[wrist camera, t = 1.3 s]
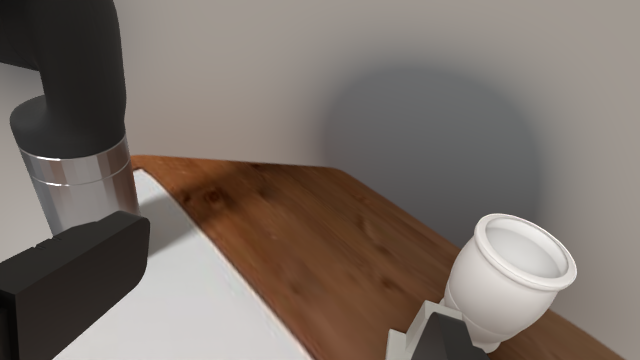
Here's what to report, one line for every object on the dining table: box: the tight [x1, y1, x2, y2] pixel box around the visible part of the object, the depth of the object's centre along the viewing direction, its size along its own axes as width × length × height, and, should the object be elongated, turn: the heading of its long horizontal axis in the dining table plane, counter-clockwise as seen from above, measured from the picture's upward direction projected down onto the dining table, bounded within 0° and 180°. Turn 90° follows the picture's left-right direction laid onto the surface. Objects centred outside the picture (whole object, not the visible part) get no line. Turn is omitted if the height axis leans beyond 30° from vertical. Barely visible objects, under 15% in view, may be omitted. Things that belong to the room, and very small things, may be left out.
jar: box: [439, 214, 577, 353], centre depth 41 cm, size 11×10×15 cm
